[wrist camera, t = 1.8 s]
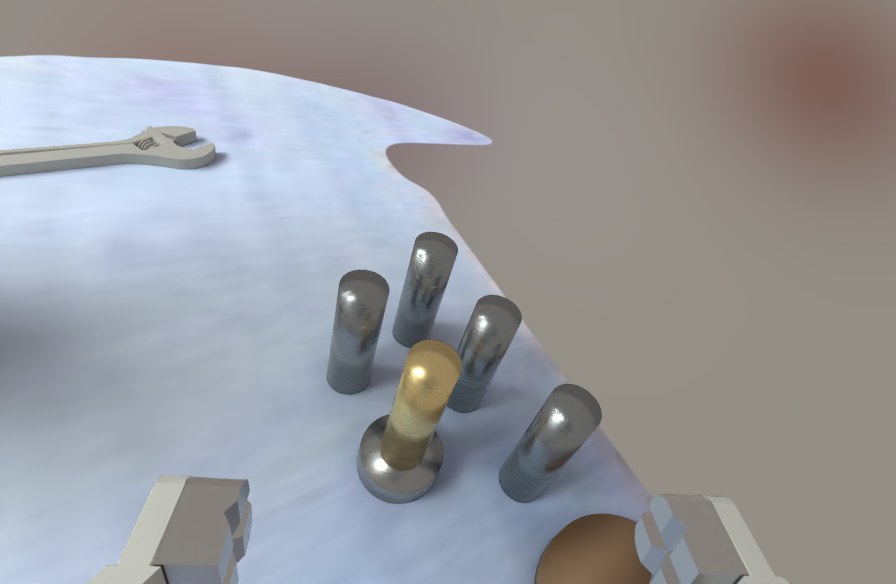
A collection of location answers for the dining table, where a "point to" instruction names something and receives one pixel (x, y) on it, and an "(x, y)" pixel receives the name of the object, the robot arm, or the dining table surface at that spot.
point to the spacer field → (480, 353)
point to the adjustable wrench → (113, 153)
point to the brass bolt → (410, 427)
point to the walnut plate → (593, 553)
